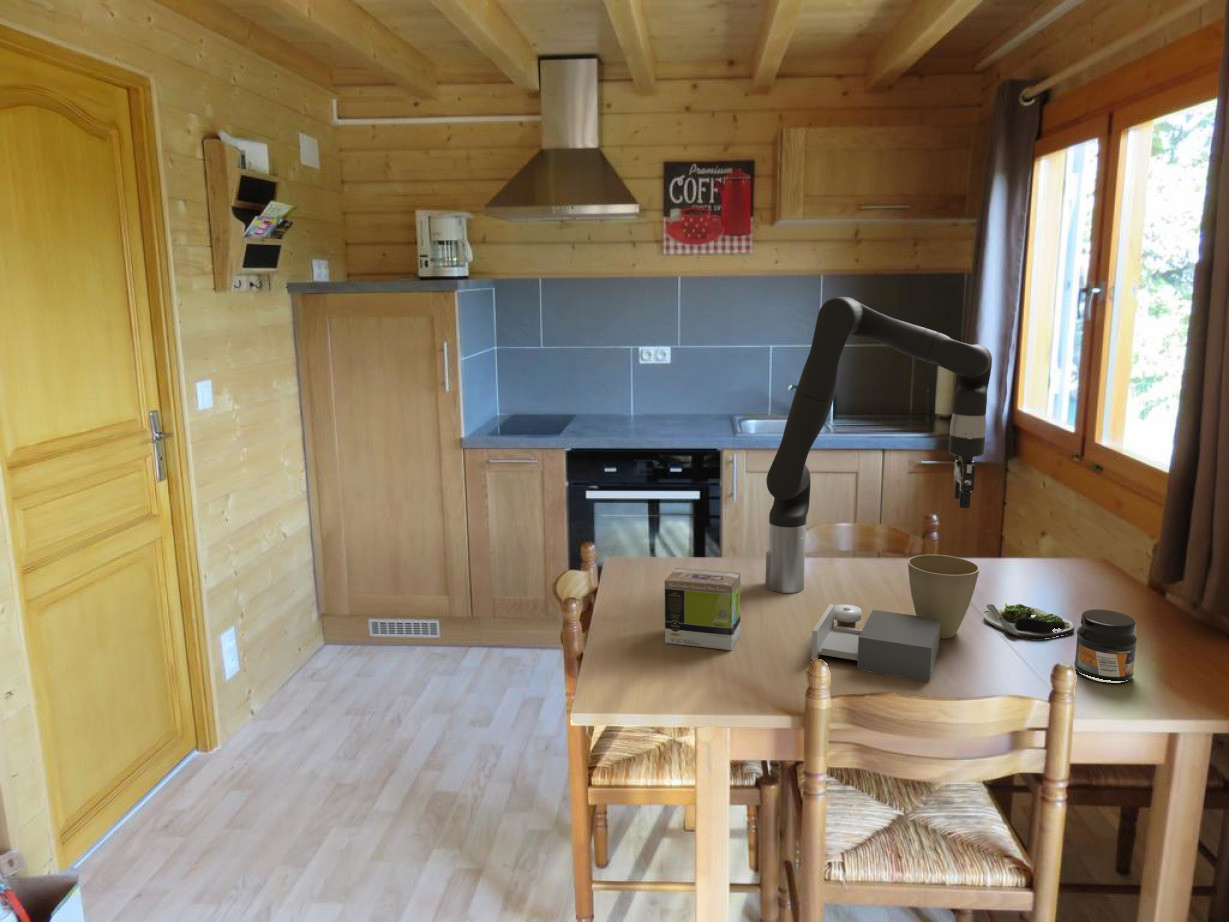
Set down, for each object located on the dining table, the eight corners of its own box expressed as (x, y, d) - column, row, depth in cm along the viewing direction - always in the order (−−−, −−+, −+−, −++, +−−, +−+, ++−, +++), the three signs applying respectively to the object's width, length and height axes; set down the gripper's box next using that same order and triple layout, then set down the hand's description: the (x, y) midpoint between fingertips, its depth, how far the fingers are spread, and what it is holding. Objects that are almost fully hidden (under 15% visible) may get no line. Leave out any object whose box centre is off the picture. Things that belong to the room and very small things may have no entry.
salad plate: (959, 616, 214) (961, 597, 213) (1019, 606, 220) (1021, 588, 219) (1022, 646, 196) (1023, 626, 196) (1085, 634, 202) (1087, 615, 202)
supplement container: (1107, 689, 174) (1113, 630, 172) (1061, 669, 184) (1066, 612, 182) (1145, 680, 179) (1151, 622, 176) (1098, 660, 188) (1103, 604, 186)
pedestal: (835, 633, 203) (835, 618, 203) (838, 627, 207) (839, 612, 206) (853, 636, 202) (854, 621, 201) (856, 630, 205) (857, 615, 205)
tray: (811, 659, 188) (812, 630, 187) (828, 631, 203) (830, 604, 202) (880, 671, 182) (881, 641, 181) (892, 640, 198) (894, 613, 196)
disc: (829, 619, 202) (829, 611, 202) (835, 610, 208) (835, 602, 207) (858, 624, 199) (858, 615, 199) (863, 614, 205) (864, 606, 205)
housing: (857, 669, 184) (858, 637, 183) (871, 639, 200) (872, 609, 198) (929, 681, 179) (931, 648, 177) (938, 650, 194) (940, 619, 192)
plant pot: (940, 650, 194) (945, 578, 191) (889, 627, 207) (893, 560, 204) (989, 637, 200) (994, 568, 197) (937, 616, 213) (941, 550, 210)
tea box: (740, 635, 203) (742, 571, 200) (731, 652, 194) (732, 586, 191) (675, 627, 208) (675, 565, 205) (663, 644, 199) (663, 579, 196)
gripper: (946, 427, 213) (940, 495, 217) (953, 438, 200) (948, 509, 203) (980, 429, 212) (974, 496, 215) (990, 439, 198) (983, 511, 201)
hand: (961, 503), depth 209 cm, fingers open, 8 cm apart
